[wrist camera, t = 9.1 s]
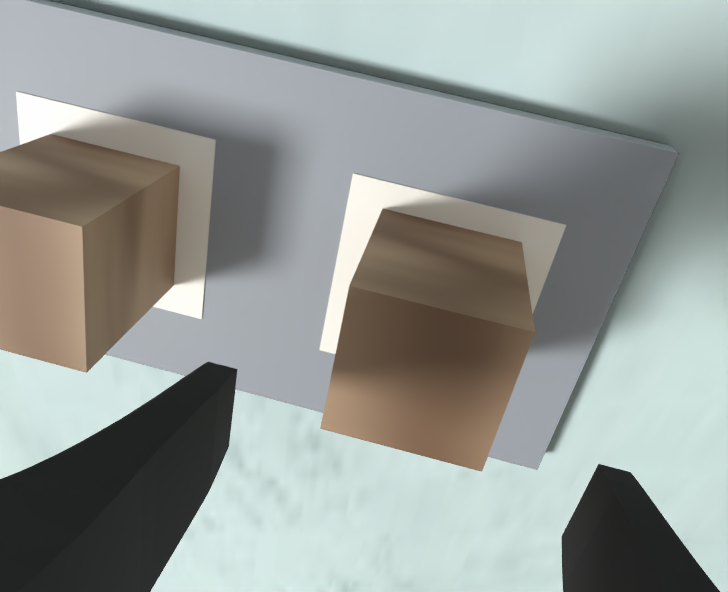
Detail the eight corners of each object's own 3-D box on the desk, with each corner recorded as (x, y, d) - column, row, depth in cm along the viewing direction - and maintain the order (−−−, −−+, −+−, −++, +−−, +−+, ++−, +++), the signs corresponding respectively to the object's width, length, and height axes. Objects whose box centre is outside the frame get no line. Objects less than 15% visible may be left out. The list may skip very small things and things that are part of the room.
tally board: (-2, 311, 23) (-19, 322, 22) (-38, -20, 17) (-62, -20, 17) (535, 454, 22) (537, 470, 21) (670, 145, 16) (679, 153, 16)
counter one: (56, 254, 20) (-62, 332, 16) (50, 133, 18) (-87, 183, 14) (173, 285, 20) (86, 372, 15) (180, 165, 18) (82, 227, 14)
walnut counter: (356, 326, 19) (320, 428, 15) (382, 208, 18) (349, 286, 13) (481, 358, 19) (482, 471, 15) (521, 242, 17) (535, 332, 13)
